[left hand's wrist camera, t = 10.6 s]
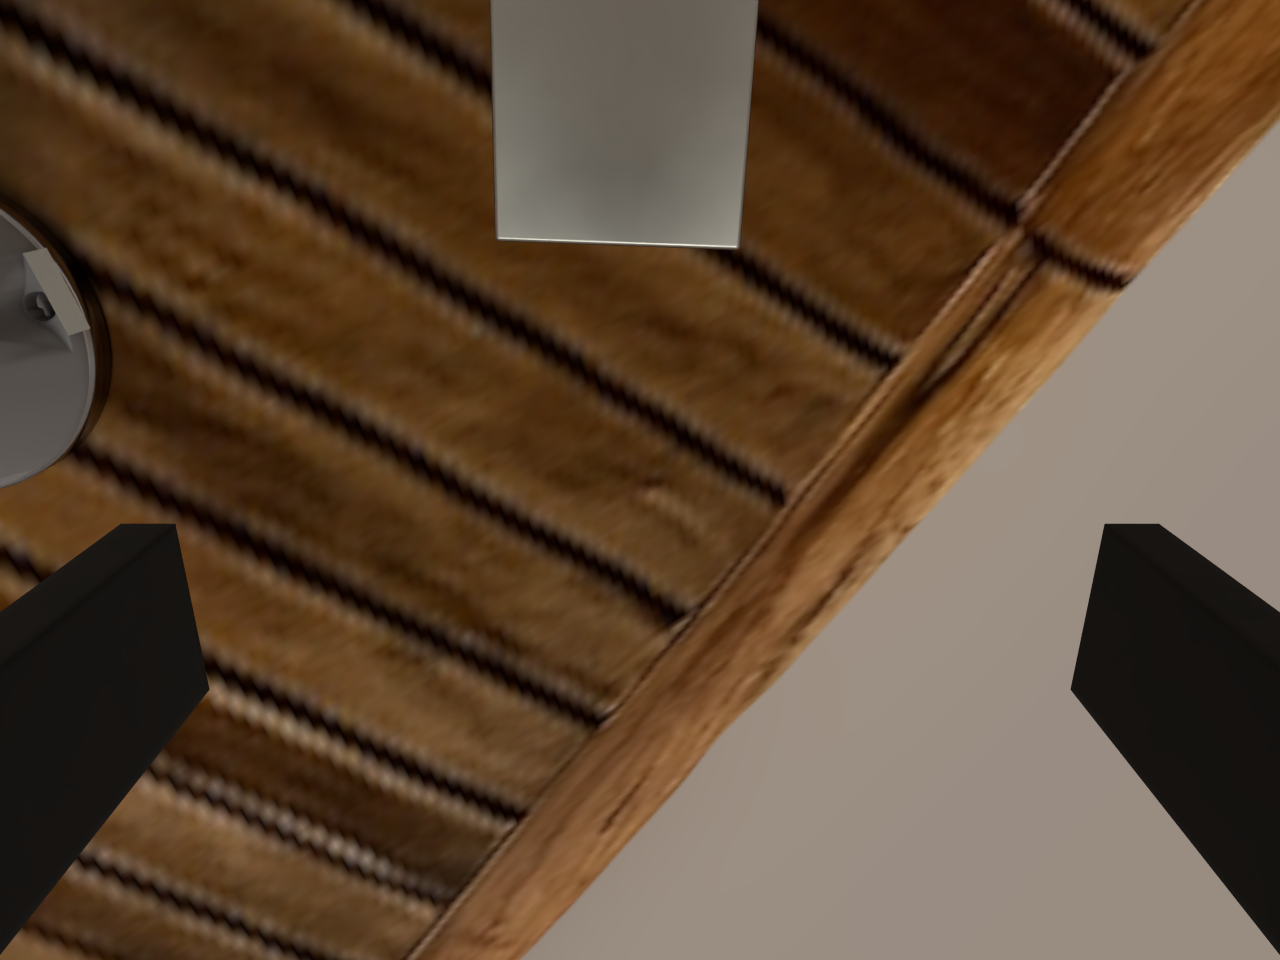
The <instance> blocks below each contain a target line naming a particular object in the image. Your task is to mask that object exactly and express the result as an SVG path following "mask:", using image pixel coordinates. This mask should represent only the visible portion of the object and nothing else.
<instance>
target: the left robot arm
mask: <svg viewBox="0 0 1280 960" xmlns="http://www.w3.org/2000/svg"><path fill="white" fill-rule="evenodd" d="M110 370H111V364H110V348H109V341H108V335H107V331H106V327H105V323H104V320H103V317H102V314H101V311H100V308H99V305H98V303H97V301H96V298H95V296H94V294H93V291H92V290H91V288H90V286H89V284H88V282H87V280H86V278H85V277H84V275H83V273H82V272H81V270H80V269H79V267H78V266H77V264H76V263H75V261H74V260H73V259H72V257H71V256H70V255H69V253H68V252H67V251H66V249H65V248H64V247H63V246H62V245H61V244H60V243H59V241H58V240H57V239H56V238H55V237H54V236H53V235H52V234H51V233H50V232H49V231H48V230H47V229H46V228H45V227H44V226H43V225H42V224H41V223H40V222H39V221H38V220H36V219H35V218H34V217H33V216H31V215H30V214H29V213H28V212H26V211H25V210H24V209H23V208H21V207H20V206H18V205H17V204H15V203H14V202H12V201H11V200H10V199H8V198H6V197H5V196H3V195H1V194H0V488H4V487H8V486H11V485H14V484H17V483H20V482H22V481H24V480H27V479H29V478H31V477H33V476H35V475H37V474H38V473H40V472H42V471H44V470H46V469H48V468H49V467H51V466H53V465H55V464H56V463H58V462H60V461H61V460H63V459H65V458H66V457H67V456H68V455H70V454H71V453H72V452H74V451H75V450H76V449H77V448H78V447H79V446H80V445H81V444H82V443H83V442H84V440H85V439H86V438H87V436H88V435H89V434H90V433H91V431H92V430H93V428H94V426H95V425H96V423H97V421H98V419H99V417H100V415H101V412H102V410H103V407H104V404H105V401H106V398H107V393H108V388H109V383H110ZM208 691H209V685H208V680H207V676H206V671H205V666H204V661H203V656H202V651H201V646H200V642H199V637H198V632H197V627H196V622H195V617H194V612H193V607H192V603H191V598H190V593H189V588H188V583H187V578H186V573H185V569H184V564H183V559H182V554H181V549H180V544H179V539H178V534H177V530H176V525H175V524H120V525H119V526H117V527H116V528H115V529H113V530H112V531H111V532H109V533H108V534H107V535H105V536H104V537H102V538H101V539H100V540H98V541H97V542H96V543H94V544H93V545H92V546H90V547H89V548H87V549H86V550H85V551H83V552H82V553H81V554H79V555H78V556H76V557H75V558H74V559H72V560H71V561H70V562H68V563H67V564H66V565H64V566H63V567H61V568H60V569H59V570H57V571H56V572H55V573H53V574H52V575H51V576H49V577H48V578H46V579H45V580H44V581H42V582H41V583H40V584H38V585H37V586H36V587H34V588H33V589H31V590H30V591H29V592H27V593H26V594H25V595H23V596H22V597H20V598H19V599H18V600H16V601H15V602H14V603H12V604H11V605H10V606H8V607H7V608H5V609H4V610H3V611H1V612H0V954H1V953H2V952H3V951H4V949H5V948H6V947H7V946H8V944H9V943H10V942H11V940H12V939H13V938H14V937H15V935H16V934H17V933H18V932H19V930H20V929H21V928H22V927H23V925H24V924H25V923H26V921H27V920H28V919H29V918H30V916H31V915H32V914H33V913H34V911H35V910H36V909H37V907H38V906H39V905H40V904H41V902H42V901H43V900H44V899H45V897H46V896H47V895H48V894H49V892H50V891H51V890H52V888H53V887H54V886H55V885H56V883H57V882H58V881H59V880H60V878H61V877H62V876H63V875H64V873H65V872H66V871H67V869H68V868H69V867H70V866H71V864H72V863H73V862H74V861H75V859H76V858H77V857H78V856H79V854H80V853H81V852H82V850H83V849H84V848H85V847H86V845H87V844H88V843H89V842H90V840H91V839H92V838H93V837H94V835H95V834H96V833H97V831H98V830H99V829H100V828H101V826H102V825H103V824H104V823H105V821H106V820H107V819H108V818H109V816H110V815H111V814H112V812H113V811H114V810H115V809H116V807H117V806H118V805H119V804H120V802H121V801H122V800H123V798H124V797H125V796H126V795H127V793H128V792H129V791H130V790H131V788H132V787H133V786H134V785H135V783H136V782H137V781H138V779H139V778H140V777H141V776H142V774H143V773H144V772H145V771H146V769H147V768H148V767H149V766H150V764H151V763H152V762H153V760H154V759H155V758H156V757H157V755H158V754H159V753H160V752H161V750H162V749H163V748H164V747H165V745H166V744H167V743H168V741H169V740H170V739H171V738H172V736H173V735H174V734H175V733H176V731H177V730H178V729H179V728H180V726H181V725H182V724H183V722H184V721H185V720H186V719H187V717H188V716H189V715H190V714H191V712H192V711H193V710H194V708H195V707H196V706H197V705H198V703H199V702H200V701H201V700H202V698H203V697H204V696H205V695H206V693H207V692H208ZM1071 691H1072V692H1073V693H1074V695H1075V696H1076V697H1077V698H1078V699H1079V701H1080V702H1081V703H1082V705H1083V706H1084V707H1085V708H1086V710H1087V711H1088V712H1089V714H1090V715H1091V716H1092V717H1093V719H1094V720H1095V721H1096V722H1097V724H1098V725H1099V726H1100V727H1101V729H1102V730H1103V731H1104V733H1105V734H1106V735H1107V736H1108V738H1109V739H1110V740H1111V741H1112V743H1113V744H1114V745H1115V746H1116V748H1117V749H1118V750H1119V751H1120V753H1121V754H1122V755H1123V757H1124V758H1125V759H1126V760H1127V762H1128V763H1129V764H1130V766H1131V767H1132V768H1133V769H1134V771H1135V772H1136V773H1137V774H1138V776H1139V777H1140V778H1141V779H1142V781H1143V782H1144V783H1145V784H1146V786H1147V787H1148V788H1149V790H1150V791H1151V792H1152V793H1153V795H1154V796H1155V797H1156V798H1157V800H1158V801H1159V802H1160V804H1161V805H1162V806H1163V807H1164V809H1165V810H1166V811H1167V812H1168V814H1169V815H1170V816H1171V818H1172V819H1173V820H1174V821H1175V823H1176V824H1177V825H1178V826H1179V828H1180V829H1181V830H1182V831H1183V833H1184V834H1185V835H1186V837H1187V838H1188V839H1189V840H1190V842H1191V843H1192V844H1193V845H1194V847H1195V848H1196V849H1197V850H1198V852H1199V853H1200V854H1201V856H1202V857H1203V858H1204V859H1205V861H1206V862H1207V863H1208V864H1209V866H1210V867H1211V868H1212V869H1213V871H1214V872H1215V873H1216V875H1217V876H1218V877H1219V878H1220V880H1221V881H1222V882H1223V883H1224V885H1225V886H1226V887H1227V888H1228V890H1229V891H1230V892H1231V894H1232V895H1233V896H1234V897H1235V899H1236V900H1237V901H1238V902H1239V904H1240V905H1241V906H1242V907H1243V909H1244V910H1245V911H1246V913H1247V914H1248V915H1249V916H1250V918H1251V919H1252V920H1253V921H1254V923H1255V924H1256V925H1257V926H1258V928H1259V929H1260V930H1261V932H1262V933H1263V934H1264V935H1265V937H1266V938H1267V939H1268V940H1269V942H1270V943H1271V944H1272V946H1273V947H1274V948H1275V949H1276V951H1277V952H1278V953H1279V954H1280V612H1279V611H1277V610H1276V609H1275V608H1273V607H1272V606H1270V605H1269V604H1268V603H1266V602H1265V601H1264V600H1262V599H1261V598H1260V597H1258V596H1257V595H1255V594H1254V593H1253V592H1251V591H1250V590H1249V589H1247V588H1246V587H1244V586H1243V585H1242V584H1240V583H1239V582H1238V581H1236V580H1235V579H1234V578H1232V577H1231V576H1229V575H1228V574H1227V573H1225V572H1224V571H1223V570H1221V569H1220V568H1219V567H1217V566H1216V565H1214V564H1213V563H1212V562H1210V561H1209V560H1208V559H1206V558H1205V557H1204V556H1202V555H1201V554H1199V553H1198V552H1197V551H1195V550H1194V549H1193V548H1191V547H1190V546H1188V545H1187V544H1186V543H1184V542H1183V541H1182V540H1180V539H1179V538H1178V537H1176V536H1175V535H1173V534H1172V533H1171V532H1169V531H1168V530H1167V529H1165V528H1164V527H1162V526H1161V525H1160V524H1105V525H1104V530H1103V534H1102V539H1101V544H1100V549H1099V554H1098V559H1097V564H1096V569H1095V573H1094V578H1093V583H1092V588H1091V593H1090V598H1089V603H1088V608H1087V612H1086V617H1085V622H1084V627H1083V632H1082V637H1081V642H1080V646H1079V651H1078V656H1077V661H1076V666H1075V671H1074V676H1073V680H1072V685H1071Z"/></svg>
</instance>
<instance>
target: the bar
mask: <svg viewBox="0 0 1280 960" xmlns="http://www.w3.org/2000/svg"><path fill="white" fill-rule="evenodd" d="M758 6H759V0H490V37H491V81H492V125H493V169H494V214H495V238H496V240H498V241H507V242H534V243H562V244H589V245H616V246H643V247H670V248H697V249H725V250H737V249H739V247H740V244H741V231H742V218H743V205H744V191H745V178H746V165H747V152H748V138H749V125H750V112H751V99H752V86H753V72H754V59H755V46H756V33H757V20H758Z"/></svg>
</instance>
